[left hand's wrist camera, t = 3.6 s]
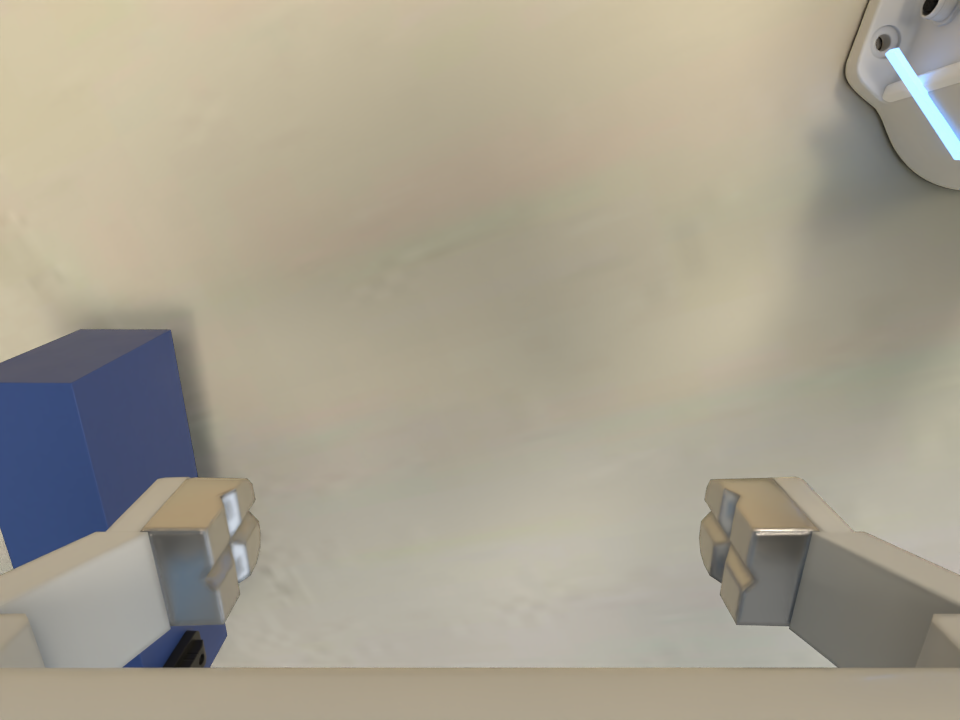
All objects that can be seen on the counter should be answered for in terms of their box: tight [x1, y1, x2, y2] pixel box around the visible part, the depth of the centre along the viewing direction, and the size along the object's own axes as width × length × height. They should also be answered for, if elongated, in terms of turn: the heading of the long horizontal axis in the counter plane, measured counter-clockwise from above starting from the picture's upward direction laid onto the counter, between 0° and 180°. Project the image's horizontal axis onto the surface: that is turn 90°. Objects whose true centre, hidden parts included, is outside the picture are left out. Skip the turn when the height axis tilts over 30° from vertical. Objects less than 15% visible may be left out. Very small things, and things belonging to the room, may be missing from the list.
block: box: [0, 329, 227, 668], centre depth 34 cm, size 23×6×9 cm, turn 0°
